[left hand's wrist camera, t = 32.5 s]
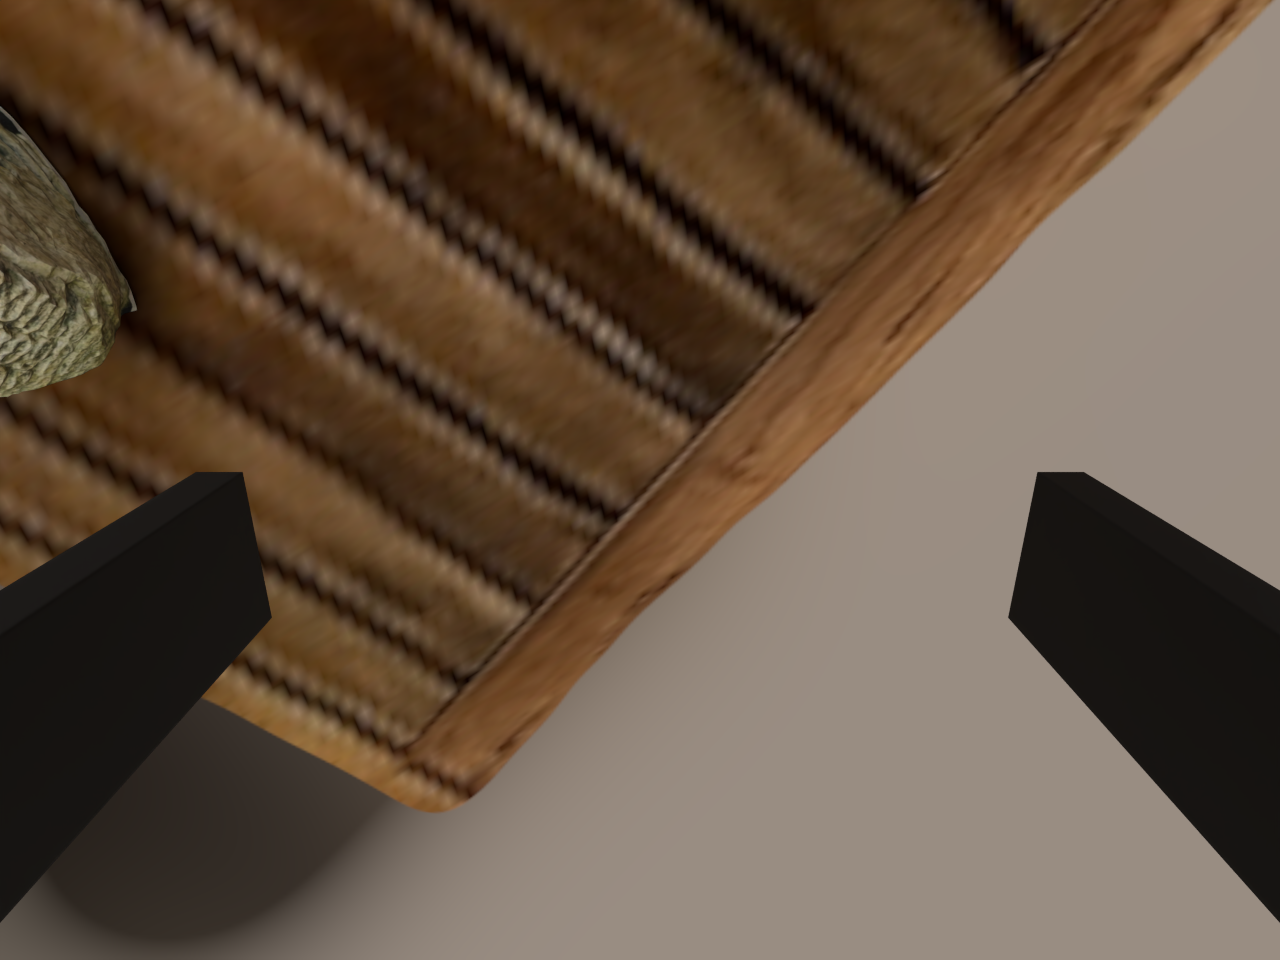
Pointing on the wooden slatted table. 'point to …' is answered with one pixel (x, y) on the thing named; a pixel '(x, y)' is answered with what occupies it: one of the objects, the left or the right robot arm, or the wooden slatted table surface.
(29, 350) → the fossil
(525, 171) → the wooden slatted table surface
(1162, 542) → the left robot arm
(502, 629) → the wooden slatted table surface
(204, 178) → the wooden slatted table surface
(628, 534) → the wooden slatted table surface
